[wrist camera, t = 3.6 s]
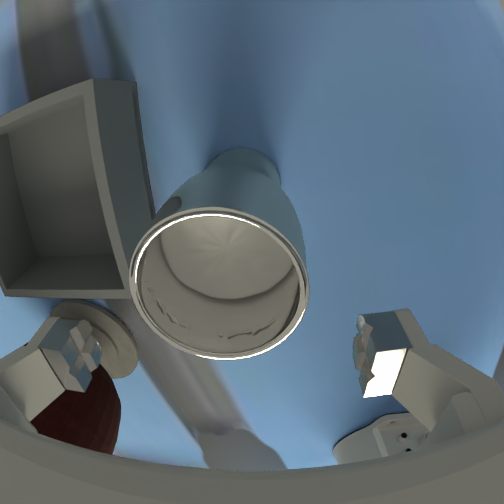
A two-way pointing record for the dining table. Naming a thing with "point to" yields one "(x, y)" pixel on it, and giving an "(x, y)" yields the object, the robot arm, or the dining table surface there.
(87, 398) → the mate gourd
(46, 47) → the dining table surface
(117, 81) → the bin
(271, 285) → the beer glass
